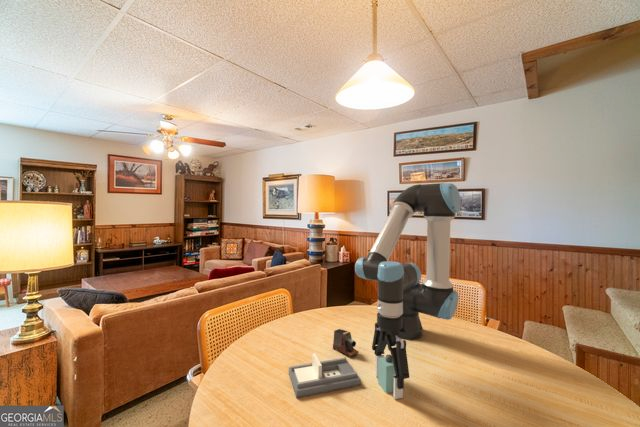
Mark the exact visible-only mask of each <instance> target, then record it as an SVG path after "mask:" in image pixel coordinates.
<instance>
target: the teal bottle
mask: <svg viewBox="0 0 640 427" xmlns="http://www.w3.org/2000/svg"><path fill="white" fill-rule="evenodd" d="M394 375H396V374H395V370H394V365H393V361H392V356H391V354H386V355H385V356H384V357H383V358H379V366H378V377H377V381H378V382H377V383H378V386H379V387H381V389H382V390H383V391H384V393H385V394H388V393H393V390H394Z"/></svg>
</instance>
